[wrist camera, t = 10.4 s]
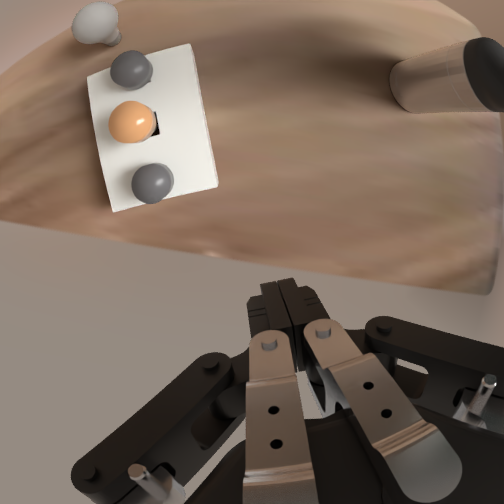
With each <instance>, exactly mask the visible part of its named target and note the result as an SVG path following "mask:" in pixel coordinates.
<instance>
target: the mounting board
mask: <svg viewBox="0 0 504 504" xmlns="http://www.w3.org/2000/svg"><path fill="white" fill-rule="evenodd" d="M144 56H145V57H146V58H147V59H148V60H149V61H150V62H151V64H152V67H153V74H152V77H151V79H150V80H151V82H149V83H147V84H146V85H145V86H143V87H142V88H140V89H137V90H128V89H126V88H124V87H122V86H120V85H118V84H116V83H115V82H114V81H113V80H112V78H111V75H110V69H111V67H110V68H108V69H105V70H102V71H100V72H98V73H95V74H93V75H90V76H88V77H87V83H88V91H89V99H90V106H91V112H92V119H93V125H94V130H95V136H96V141H97V146H98V151H99V156H100V161H101V165H102V170H103V174H104V178H105V183H106V187H107V191H108V195H109V198H110V202H111V206H112V210H113V212H117V211H120V210H124V209H128V208H131V207H135V206H139V205H143V204H146V203H143V202H141V201H140V200H138V199H137V198H136V197H135V195H134V193H133V191H132V187H131V182H132V178H133V175H134V173H135V172H136V171H137V170H138V169H139V168H140V167H142V166H144V165H148V164H152V163H161V164H164V165H167V167H168V168H169V169H170V170H171V172H172V174H173V177H174V185H173V188H172V190H171V192H170V193H169V194H168V195H167V196H166V197H164V198H163V199H167V198H171V197H175V196H179V195H183V194H188V193H192V192H197V191H201V190H206V189H210V188H215V187H218V183H219V182H218V177H217V172H216V167H215V162H214V157H213V152H212V147H211V142H210V137H209V132H208V127H207V121H206V116H205V111H204V106H203V101H202V95H201V90H200V85H199V79H198V74H197V68H196V63H195V57H194V53H193V50H192V48H191V45H190V43H189V44H185V45H181V46H176V47H173V48H169V49H165V50H161V51H158V52H154V53H151V54H148V55H144ZM126 101H137V102H139V103H141V104H144V105H146V106H148V107H149V108H151V109H152V111H153V112H154V114H155V117H157V120H158V125H159V130H160V134H159V135H155V136H152V137H149V138H148V139H147V140H145V141H143V142H141V143H121V142H118V141H116V140H115V139H114V138H113V137H112V136H111V134H110V131H109V127H108V122H109V118H110V115H111V113H112V111H113V110H114V109H115V108H116V107H117V106H118V105H119V104H121V103H123V102H126ZM163 199H162V200H163Z"/></svg>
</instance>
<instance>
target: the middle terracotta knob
mask: <svg viewBox="0 0 504 504" xmlns="http://www.w3.org/2000/svg"><path fill="white" fill-rule="evenodd" d="M108 127H109V131H110V134H111V136H112V137H113V138H114V139H115V140H116V141H118V142H121V143H141V142H143V141H145V140H147V139H148V138H149V137H150V136H151V135H152V133H154V132H155V131H156V129H157V123H156V117H155V114H154V112H153V111H152V109H151V108H149V107H148V106H146V105H144V104H141V103H139V102H137V101H126V102H123V103H121V104H119V105H118V106H117V107H116V108H115V109H114V110H113V111H112V113H111V115H110V118H109V122H108Z"/></svg>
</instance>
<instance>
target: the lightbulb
mask: <svg viewBox="0 0 504 504" xmlns="http://www.w3.org/2000/svg"><path fill="white" fill-rule="evenodd" d="M117 24H118V12H117V10H116V8H115V7H114V6H113V5H111V4H109V3H107V2H94V3H91V4H88V5H86V6H85V7H83V8H82V9H81V10H80V11H79V12H78V13H77V14H76V16H75V18H74V20H73V23H72V32H73V35H74V37H75V38H76V39H77V40H78V41H79V42H81V43H84V44H95V43H99V42H101V43H103V44H106V45H109V46H114V45H116V44H118V43H119V42H120V40H121V33H120V32H119V29H118V27H117Z"/></svg>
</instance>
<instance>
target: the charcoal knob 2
mask: <svg viewBox="0 0 504 504" xmlns="http://www.w3.org/2000/svg"><path fill="white" fill-rule="evenodd" d="M173 185H174V177H173V174H172V172H171V170H170V169H169V168H168V167H167V166H166V165H164V164H161V163H152V164H148V165H144V166H142V167H140V168H139V169H138V170H137V171H136V172H135V173H134V175H133V178H132V182H131V187H132V191H133V193H134V195H135V197H136V198H137V199H138V200H140V201H141V202H143V203H146V204H154V203H157V202H159V201H161V200H162V199H163V198H164V197H166V196H167V195H168V194H169V193H170V192H171V190H172V188H173Z"/></svg>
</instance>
